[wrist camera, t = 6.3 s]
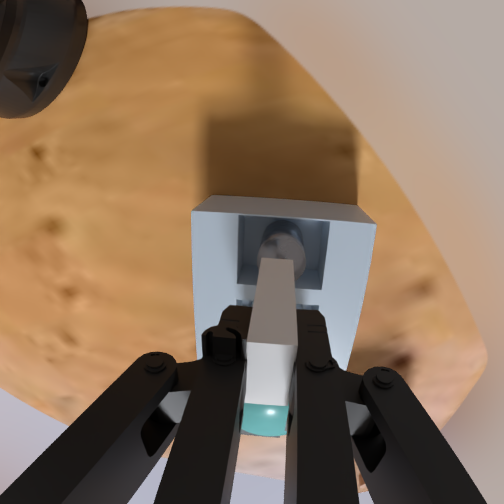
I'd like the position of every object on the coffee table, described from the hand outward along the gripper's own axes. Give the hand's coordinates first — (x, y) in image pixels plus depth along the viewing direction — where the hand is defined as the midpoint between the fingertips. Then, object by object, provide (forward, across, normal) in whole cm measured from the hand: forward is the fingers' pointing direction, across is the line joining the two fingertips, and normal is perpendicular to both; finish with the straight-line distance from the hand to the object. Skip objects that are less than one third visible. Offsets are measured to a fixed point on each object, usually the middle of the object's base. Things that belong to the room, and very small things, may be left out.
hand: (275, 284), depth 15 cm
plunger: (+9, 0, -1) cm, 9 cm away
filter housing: (+11, 0, -7) cm, 13 cm away
